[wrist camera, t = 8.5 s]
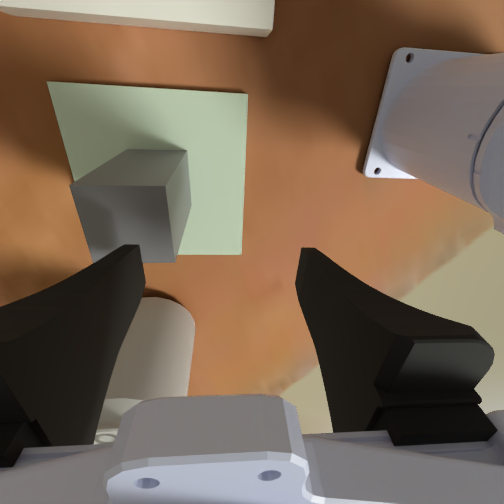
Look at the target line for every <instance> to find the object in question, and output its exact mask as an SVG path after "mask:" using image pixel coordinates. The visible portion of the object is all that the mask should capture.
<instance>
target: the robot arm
mask: <svg viewBox="0 0 504 504" xmlns="http://www.w3.org/2000/svg"><path fill="white" fill-rule="evenodd" d="M408 54H410V56H411V57H410V60H409V62H408V63H407V62H406V56H407V55H408ZM376 168H378V172H376V173H374V170H375V169H376ZM363 174H364V175H365V176H366V177H373V178H402V179H420V180H422V181H424V182H426V183H428V184H430V185H432V186H434V187H437V188H439V189H441V190H443V191H445V192H447V193H449V194H451V195H453V196H456V197H458V198H460V199H462V200H464V201H466V202H468V203H470V204H472V205H475V206H477V207H479V208H481V209H483V210H485V211H487V212H489V213H490V214H491V215H492V216H493V219H494V229H495V230H497V231H499V232H501V233H503V234H504V53H496V54H477V53H466V52H454V51H442V50H430V49H418V48H407V47H404V48H399V49H397V50H396V51H395V52H394V53H393V56H392V59H391V63H390V67H389V70H388V74H387V78H386V82H385V86H384V90H383V94H382V97H381V101H380V105H379V109H378V113H377V117H376V121H375V124H374V128H373V132H372V136H371V140H370V144H369V148H368V151H367V155H366V159H365V163H364V167H363ZM145 283H146V281H145V275H144V269H143V263H142V257H141V251H140V245H138V244H124V245H122V246H120V247H119V248H117V249H115V250H114V251H112V252H111V253H109V254H107V255H106V256H104V257H103V258H101V259H99V260H98V261H96V262H95V263H93V264H91V265H90V266H88V267H86V268H85V269H83V270H81V271H79V272H78V273H76V274H74V275H72V276H71V277H69V278H67V279H65V280H63V281H61V282H59V283H57V284H55V285H53V286H51V287H49V288H47V289H44V290H42V291H40V292H38V293H35V294H33V295H30V296H28V297H25V298H23V299H20V300H18V301H15V302H13V303H10V304H7V305H5V306H2V307H0V504H504V410H497V411H493V412H490V413H488V414H485V413H484V412H483V411H482V409H481V408H480V407H479V406H478V404H480V403H481V402H482V399H481V397H480V396H479V395H478V393H477V392H476V391H475V390H474V388H475V387H476V385H477V384H478V383H479V382H480V380H481V379H482V378H483V377H484V375H485V374H486V373H487V372H488V370H489V369H490V367H491V365H492V364H493V359H494V351H493V348H492V347H491V346H490V345H489V344H488V343H487V342H486V341H485V340H484V339H483V338H482V337H481V336H480V334H479V333H478V332H477V331H475V329H474V328H472V327H471V326H468V325H465V324H462V323H458V322H455V321H452V320H448V319H445V318H442V317H439V316H435V315H433V314H430V313H427V312H425V311H422V310H419V309H417V308H414V307H412V306H409V305H407V304H404V303H402V302H400V301H398V300H396V299H394V298H391V297H389V296H387V295H385V294H383V293H381V292H380V291H378V290H376V289H374V288H372V287H370V286H369V285H367V284H365V283H364V282H362V281H361V280H359V279H358V278H356V277H354V276H353V275H351V274H350V273H349V272H347V271H346V270H344V269H343V268H342V267H340V266H339V265H337V264H336V263H335V262H333V261H332V260H331V259H330V258H328V257H327V256H326V255H324V254H323V253H322V252H320V251H319V250H317V249H316V248H301V254H300V259H299V265H298V270H297V276H296V281H295V285H296V291H297V295H298V300H299V303H300V306H301V309H302V312H303V315H304V318H305V320H306V323H307V326H308V328H309V331H310V334H311V337H312V339H313V342H314V345H315V349H316V352H317V356H318V360H319V365H320V369H321V373H322V377H323V382H324V386H325V391H326V396H327V401H328V406H329V411H330V416H331V422H332V427H333V433H321V434H302V433H301V429H300V424H299V419H298V415H297V410H296V407H295V406H294V405H292V404H291V403H289V402H288V401H286V400H284V399H283V398H281V397H280V396H274V395H266V394H239V395H210V396H180V397H160V398H155V399H150V400H145V401H141V402H139V403H138V404H136V405H135V406H133V407H132V408H130V409H129V410H128V411H126V412H125V413H123V416H122V420H121V423H120V426H119V429H118V432H117V435H116V438H115V441H114V444H95V445H93V444H94V440H95V436H96V431H97V427H98V423H99V419H100V416H101V412H102V408H103V404H104V400H105V397H106V393H107V390H108V386H109V383H110V379H111V376H112V372H113V369H114V366H115V363H116V360H117V356H118V353H119V351H120V348H121V346H122V343H123V341H124V339H125V336H126V334H127V332H128V330H129V327H130V325H131V323H132V321H133V318H134V316H135V314H136V311H137V309H138V307H139V304H140V302H141V299H142V295H143V291H144V287H145Z"/></svg>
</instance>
